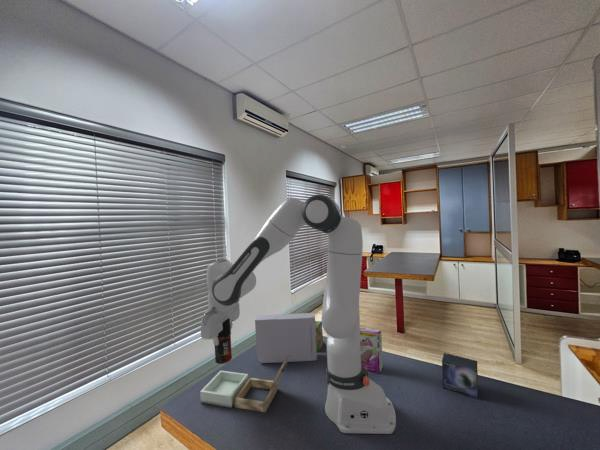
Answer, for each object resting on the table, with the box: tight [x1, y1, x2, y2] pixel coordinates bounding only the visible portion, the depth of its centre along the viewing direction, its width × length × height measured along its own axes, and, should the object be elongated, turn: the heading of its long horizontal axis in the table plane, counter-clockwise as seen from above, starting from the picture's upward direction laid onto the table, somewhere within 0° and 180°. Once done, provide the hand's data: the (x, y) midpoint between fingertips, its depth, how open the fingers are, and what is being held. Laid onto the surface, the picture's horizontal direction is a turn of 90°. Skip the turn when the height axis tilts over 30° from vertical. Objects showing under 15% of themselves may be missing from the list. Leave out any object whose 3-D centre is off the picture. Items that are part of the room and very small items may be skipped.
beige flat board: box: [265, 355, 289, 404], centre depth 87 cm, size 12×12×1 cm
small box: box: [441, 352, 479, 400], centre depth 88 cm, size 11×6×10 cm, turn 53°
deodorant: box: [214, 318, 233, 365], centre depth 92 cm, size 6×6×15 cm
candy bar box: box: [360, 325, 384, 374], centre depth 104 cm, size 11×5×16 cm, turn 58°
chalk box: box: [315, 320, 324, 353], centre depth 123 cm, size 9×9×15 cm
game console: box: [254, 312, 318, 364], centre depth 113 cm, size 6×27×20 cm, turn 89°
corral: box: [234, 377, 279, 413], centre depth 89 cm, size 12×12×3 cm
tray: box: [199, 369, 249, 409], centre depth 93 cm, size 13×13×4 cm
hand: (222, 339), depth 92 cm, fingers closed on deodorant, 6 cm apart
